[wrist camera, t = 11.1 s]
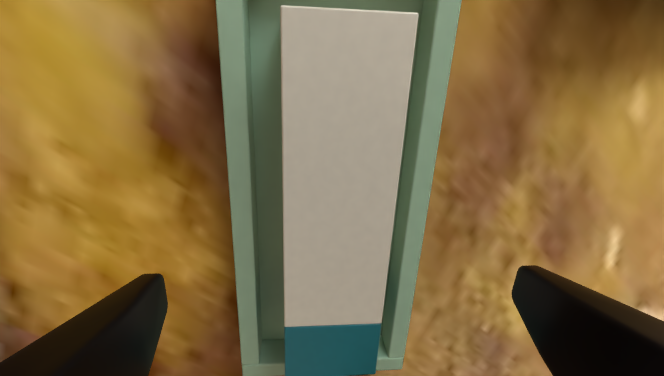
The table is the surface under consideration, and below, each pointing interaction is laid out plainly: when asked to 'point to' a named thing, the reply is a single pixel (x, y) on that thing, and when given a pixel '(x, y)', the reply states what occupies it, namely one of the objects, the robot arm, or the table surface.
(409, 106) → the pen tray
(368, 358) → the beige and teal block
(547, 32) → the table surface
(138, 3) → the table surface
